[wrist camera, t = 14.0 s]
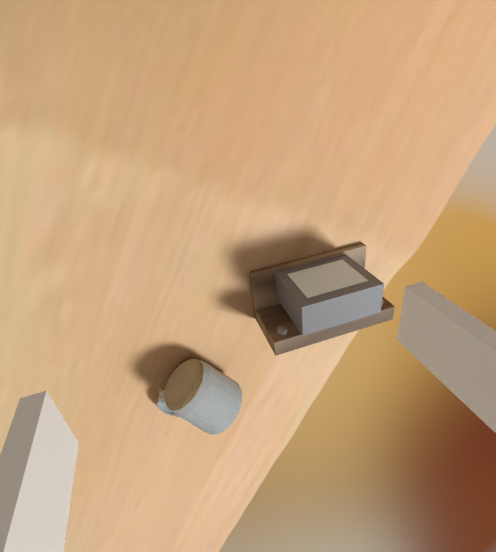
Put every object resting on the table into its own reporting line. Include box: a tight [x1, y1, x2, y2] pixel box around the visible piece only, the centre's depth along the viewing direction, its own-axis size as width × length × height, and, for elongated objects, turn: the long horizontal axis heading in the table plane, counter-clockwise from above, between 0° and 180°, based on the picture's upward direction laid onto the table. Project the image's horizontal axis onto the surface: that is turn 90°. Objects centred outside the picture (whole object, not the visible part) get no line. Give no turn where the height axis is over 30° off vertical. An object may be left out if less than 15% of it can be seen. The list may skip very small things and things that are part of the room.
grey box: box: [275, 254, 384, 336], centre depth 41 cm, size 4×10×8 cm, turn 97°
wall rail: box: [250, 243, 394, 355], centre depth 43 cm, size 8×16×8 cm, turn 97°
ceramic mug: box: [157, 359, 242, 434], centre depth 45 cm, size 11×8×8 cm
